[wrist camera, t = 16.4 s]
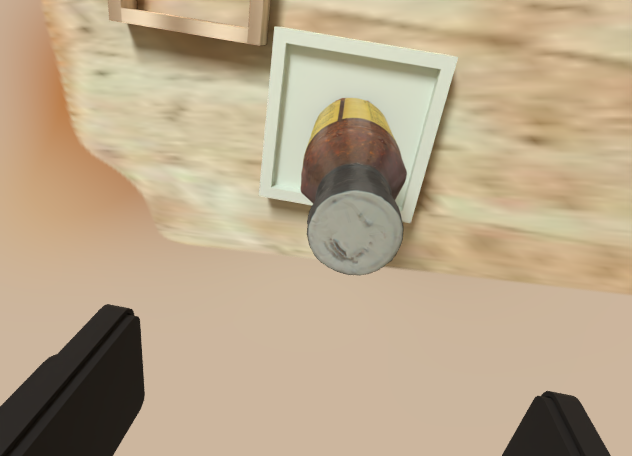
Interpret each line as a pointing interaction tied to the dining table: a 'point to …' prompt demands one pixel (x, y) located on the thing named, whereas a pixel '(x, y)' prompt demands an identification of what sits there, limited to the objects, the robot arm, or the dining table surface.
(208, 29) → the tan flat square frame
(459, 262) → the dining table surface
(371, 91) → the shallow square tray
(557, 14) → the dining table surface
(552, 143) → the dining table surface
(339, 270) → the sauce bottle
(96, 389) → the robot arm
